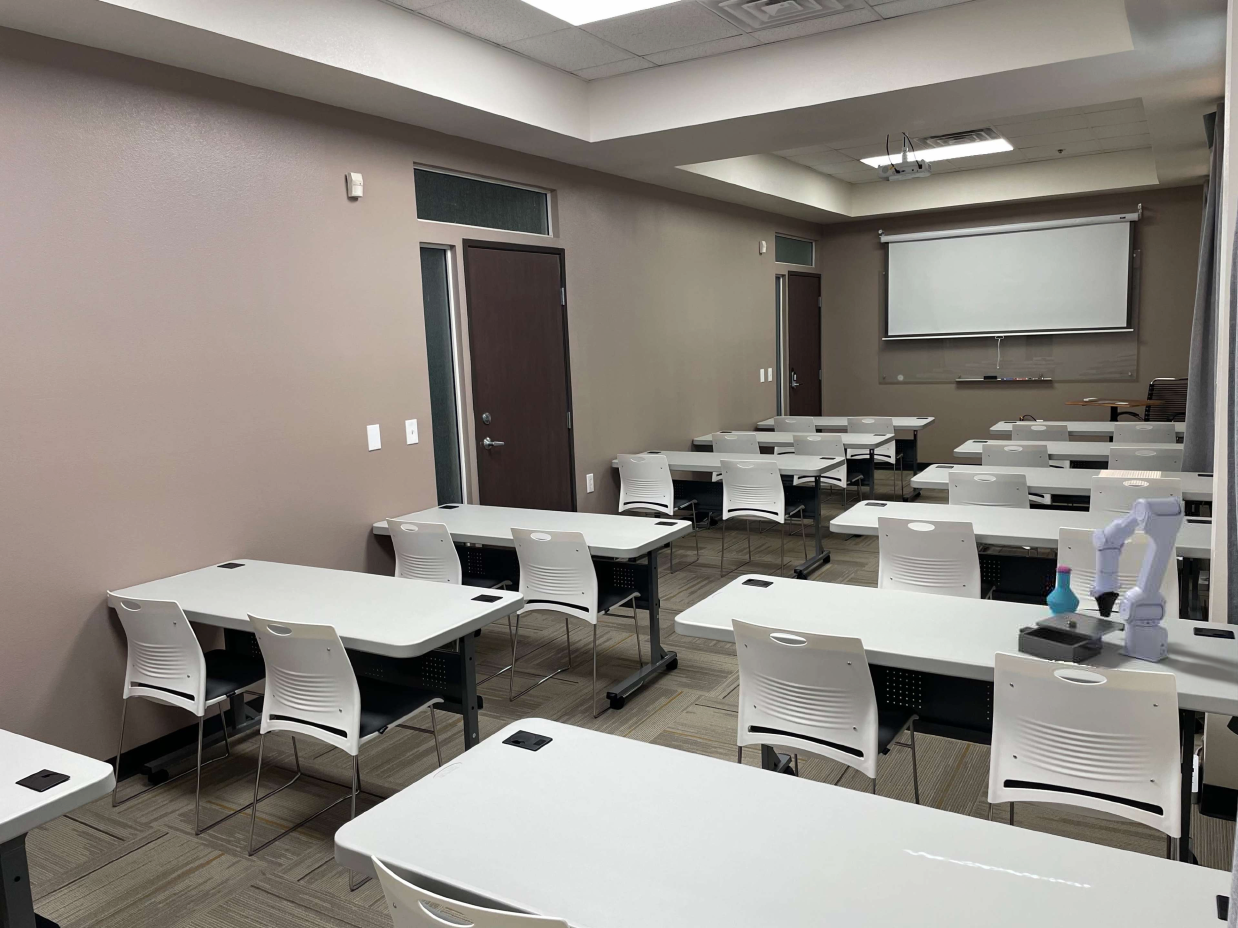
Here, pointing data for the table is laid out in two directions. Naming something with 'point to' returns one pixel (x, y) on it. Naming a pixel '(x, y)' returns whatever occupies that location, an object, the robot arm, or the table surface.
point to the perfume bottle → (1062, 594)
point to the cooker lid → (1081, 625)
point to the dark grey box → (1057, 645)
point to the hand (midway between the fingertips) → (1105, 616)
